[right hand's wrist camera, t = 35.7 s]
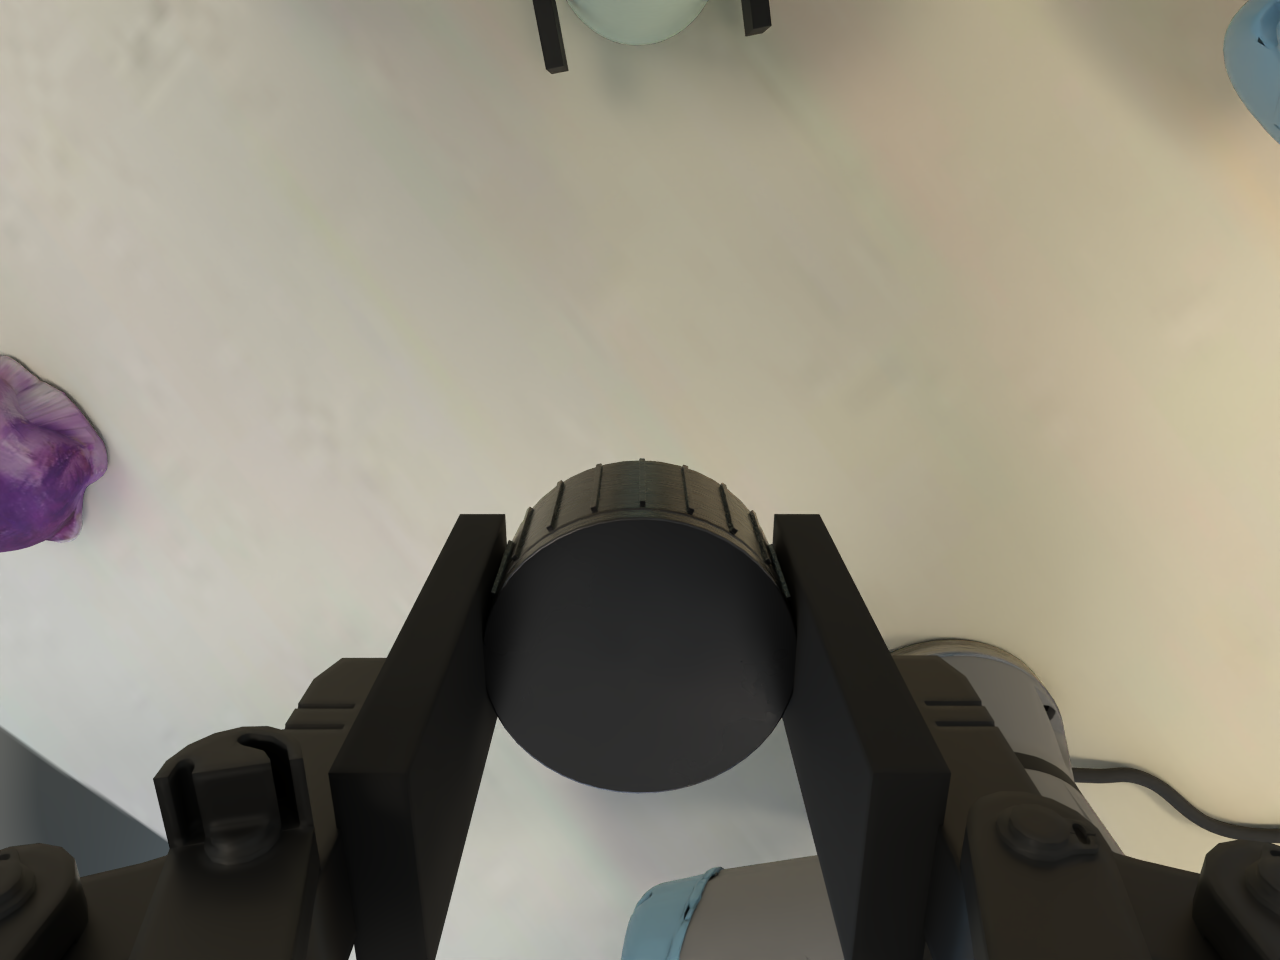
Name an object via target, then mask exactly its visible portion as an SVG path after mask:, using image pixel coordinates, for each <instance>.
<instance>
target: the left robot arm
mask: <svg viewBox="0 0 1280 960" xmlns="http://www.w3.org/2000/svg"><path fill="white" fill-rule="evenodd" d="M741 3H742V11H743V20H744V28H745V36H750V35H756V34H761V33H763V32H764V31H766V30H767V29H768V28H769V27H770V26H771V16H770V7H769V0H741ZM533 5H534V10H535V15H536V20H537V25H538V31H539V36H540V41H541V46H542V51H543V56H544V61H545V67H546V70H548V71H549V72H550V73H551V74H555V73H560V72H565V71H568V66H567V60H566V55H565V49H564V44H563V39H562V33H561V28H560V22H559V17H558V12H557V6H556V1H555V0H533ZM1223 52H1224V61H1225V67H1226V70H1227V73H1228V76H1229V78H1230V81H1231V83H1232V85H1233V87H1234V89H1235V91H1236V92H1237V94H1238V96H1239V97H1240V99H1241V100H1242V102H1243V103H1244V105H1245V106H1246V107H1247V109H1248V110H1249V111H1250V113H1251V114H1252V115H1253V116H1254V117H1255V118H1256V119H1257V121H1258V122H1259V123H1260V124H1261V125H1262V126H1263V128H1264V129H1265V130H1266V131H1267V132H1268V133H1269V134H1270V135H1271V136H1272V137H1273V138H1274V139H1275V140H1276V141H1277V142H1278V143H1279V144H1280V0H1249V1H1248V2H1247V3H1246V4H1245V5H1244V6H1243V7H1242V8H1241V9H1240V10H1239V11H1238V12H1237V13H1236V15H1235V16H1234V17H1233V19H1232V20H1231V22H1230V24H1229V26H1228V28H1227V31H1226V34H1225V38H1224V45H1223Z"/></svg>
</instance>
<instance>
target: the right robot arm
mask: <svg viewBox="0 0 1280 960" xmlns="http://www.w3.org/2000/svg"><path fill="white" fill-rule="evenodd" d="M506 546H507V539H506V522H505V514H460V516H459V517H458V519H457V521H456V523H455V525H454V527H453V529H452V531H451V533H450V535H449V537H448V539H447V541H446V543H445V545H444V547H443V549H442V551H441V553H440V555H439V557H438V559H437V561H436V563H435V564H434V566H433V568H432V570H431V572H430V574H429V576H428V578H427V580H426V582H425V584H424V586H423V588H422V590H421V592H420V594H419V596H418V598H417V600H416V602H415V604H414V606H413V608H412V610H411V611H410V613H409V615H408V617H407V619H406V621H405V623H404V625H403V627H402V629H401V631H400V633H399V635H398V637H397V639H396V641H395V643H394V645H393V647H392V649H391V651H390V653H389V655H388V657H387V658H342V659H340V660H339V661H338V662H336V663H335V664H333V665H332V666H331V667H329V668H328V669H327V670H325V671H324V672H323V673H321V674H320V675H319V676H317V677H316V678H315V679H314V680H313V681H312V683H311V684H310V686H309V688H308V689H307V691H306V692H305V694H304V695H303V697H302V699H301V700H300V702H299V703H298V709H295V710H294V711H293V713H292V714H291V716H290V718H289V719H288V721H287V722H286V724H285V729H282V730H280V729H277V728H273V727H269V726H255V727H239V728H235V729H231V730H227V731H222V732H218V733H214V734H212V735H210V736H207V737H205V738H203V739H201V740H198V741H196V742H194V743H192V744H189V745H188V746H186V747H185V748H183V749H182V750H181V751H179V752H178V753H177V754H175V755H174V756H173V757H171V758H170V759H168V760H167V761H166V762H165V764H164V765H163V766H162V768H161V769H160V770H159V772H158V773H157V774H156V776H155V777H154V778H153V781H154V785H155V789H156V793H157V797H158V801H159V806H160V810H161V814H162V818H163V822H164V827H165V831H166V835H167V839H168V843H169V847H170V850H169V852H168V855H166V856H163V857H160V858H157V859H154V860H150V861H147V862H144V863H140V864H136V865H132V866H127V867H123V868H119V869H114V870H110V871H105V872H101V873H97V874H93V875H88V876H84V877H80V876H79V872H78V869H77V866H76V862H75V859H74V858H73V857H72V856H71V855H70V854H69V853H68V852H67V851H66V850H65V849H63V848H62V847H59V846H53V845H48V844H42V843H36V844H28V845H20V846H12V847H8V848H5V849H2V850H0V960H348V959H349V956H350V953H351V951H352V948H353V945H354V946H355V953H356V959H357V960H435V958H436V954H437V950H438V946H439V942H440V938H441V934H442V931H443V927H444V923H445V919H446V915H447V911H448V907H449V903H450V899H451V895H452V892H453V888H454V884H455V880H456V876H457V872H458V868H459V864H460V860H461V856H462V853H463V849H464V845H465V841H466V837H467V833H468V829H469V825H470V821H471V817H472V814H473V810H474V806H475V802H476V798H477V794H478V790H479V786H480V782H481V778H482V775H483V771H484V767H485V763H486V759H487V755H488V751H489V747H490V743H491V739H492V736H493V732H494V728H495V724H496V720H497V715H496V713H495V711H494V709H493V706H492V704H491V702H490V700H489V698H488V695H487V691H486V681H485V668H484V654H483V629H484V624H485V621H486V618H487V615H488V612H489V609H490V606H491V603H492V600H493V597H490V596H489V595H490V592H491V590H492V587H493V584H494V581H495V578H496V575H497V572H498V569H499V567H500V564H501V561H502V558H503V555H504V552H505V549H506ZM773 547H774V550H775V553H776V556H777V559H778V561H779V564H780V567H781V570H782V573H783V576H784V579H785V581H786V584H787V587H788V590H789V593H790V596H791V599H792V601H789V602H788V603H789V606H790V609H791V612H792V615H793V618H794V622H795V625H796V629H797V646H796V660H795V674H794V687H793V694H792V697H791V700H790V702H789V704H788V706H787V708H786V710H785V712H784V714H783V716H782V718H783V722H784V726H785V730H786V734H787V738H788V742H789V745H790V749H791V753H792V757H793V761H794V765H795V769H796V773H797V777H798V781H799V784H800V788H801V792H802V796H803V800H804V804H805V808H806V812H807V816H808V820H809V823H810V827H811V831H812V835H813V839H814V843H815V847H816V851H817V855H815V856H809V857H802V858H796V859H789V860H783V861H776V862H769V863H763V864H756V865H750V866H743V867H737V868H730V869H724V868H722V867H715V868H712V869H710V870H708V871H706V873H705V874H702V875H698V876H693V877H688V878H684V879H679V880H674V881H670V882H665V883H661V884H659V885H656V886H654V887H653V888H651V889H650V890H648V891H647V892H646V893H645V894H644V895H643V896H642V898H641V899H640V901H639V902H638V903H637V905H636V907H635V910H634V912H633V914H632V915H631V918H630V921H629V924H628V927H627V931H626V935H625V940H624V945H623V951H622V958H621V960H1280V846H1278V845H1275V844H1272V843H1280V829H1261V828H1249V827H1242V826H1236V825H1232V824H1228V823H1224V822H1221V821H1218V820H1215V819H1212V818H1210V817H1208V816H1206V815H1205V814H1203V813H1201V812H1200V811H1199V810H1197V809H1196V808H1195V807H1194V806H1192V805H1191V804H1190V803H1189V802H1188V801H1187V800H1185V799H1184V798H1183V797H1182V796H1181V795H1180V794H1179V793H1178V792H1176V791H1175V790H1174V789H1173V788H1171V787H1170V786H1169V785H1168V784H1166V783H1165V782H1163V781H1161V780H1160V779H1158V778H1156V777H1154V776H1152V775H1150V774H1148V773H1146V772H1143V771H1140V770H1137V769H1132V768H1107V769H1090V768H1072V767H1071V762H1070V757H1069V752H1068V747H1067V742H1066V738H1065V732H1064V727H1063V722H1062V718H1061V715H1060V712H1059V709H1058V707H1057V705H1056V703H1055V701H1054V699H1053V698H1052V697H1051V695H1050V694H1049V692H1048V691H1047V690H1046V688H1045V687H1044V686H1043V684H1042V683H1041V682H1040V680H1039V679H1038V678H1037V676H1036V675H1035V674H1034V673H1033V672H1032V671H1031V669H1030V668H1029V667H1027V666H1026V665H1025V664H1024V663H1023V662H1022V661H1020V660H1019V659H1017V658H1016V657H1014V656H1013V655H1011V654H1009V653H1007V652H1005V651H1003V650H1001V649H999V648H996V647H994V646H990V645H987V644H984V643H979V642H974V641H967V640H935V641H928V642H923V643H918V644H914V645H911V646H908V647H904V648H901V649H899V650H896V651H894V652H892V653H890V652H889V650H888V648H887V646H886V644H885V642H884V640H883V638H882V636H881V634H880V632H879V630H878V628H877V626H876V624H875V622H874V620H873V618H872V617H871V615H870V613H869V611H868V609H867V607H866V605H865V603H864V601H863V599H862V597H861V595H860V593H859V591H858V589H857V587H856V585H855V583H854V581H853V579H852V577H851V575H850V573H849V571H848V569H847V568H846V566H845V564H844V562H843V560H842V558H841V556H840V554H839V552H838V550H837V548H836V546H835V544H834V542H833V540H832V538H831V536H830V534H829V532H828V530H827V528H826V526H825V524H824V522H823V521H822V519H821V517H820V515H819V514H774V530H773ZM1075 782H1080V783H1114V782H1130V783H1136V784H1139V785H1142V786H1145V787H1147V788H1149V789H1151V790H1153V791H1155V792H1156V793H1158V794H1159V795H1160V796H1161V797H1163V798H1164V799H1165V800H1166V801H1168V802H1169V803H1170V804H1171V805H1172V806H1173V807H1174V808H1175V809H1177V810H1178V811H1179V812H1180V813H1181V814H1182V815H1184V816H1185V817H1186V818H1188V819H1189V820H1190V821H1192V822H1193V823H1195V824H1197V825H1198V826H1200V827H1202V828H1204V829H1206V830H1208V831H1210V832H1212V833H1215V834H1218V835H1221V836H1224V837H1228V838H1232V839H1237V840H1235V841H1229V842H1223V843H1218V844H1217V845H1216V846H1215V847H1214V848H1213V849H1212V850H1211V851H1209V852H1208V853H1207V854H1206V856H1205V860H1204V863H1203V867H1202V870H1201V874H1198V873H1194V872H1190V871H1185V870H1181V869H1177V868H1172V867H1168V866H1164V865H1159V864H1155V863H1151V862H1146V861H1142V860H1138V859H1135V858H1131V857H1128V856H1125V855H1124V853H1123V852H1122V850H1121V849H1120V848H1119V846H1118V845H1117V843H1116V842H1115V840H1114V839H1113V838H1112V836H1111V835H1110V833H1109V832H1108V830H1107V829H1106V828H1105V826H1104V825H1103V823H1102V822H1101V820H1100V819H1099V818H1098V816H1097V815H1096V813H1095V812H1094V810H1093V809H1092V808H1091V806H1090V805H1089V803H1088V802H1087V800H1086V799H1085V798H1084V796H1083V795H1082V793H1081V792H1080V790H1079V789H1078V787H1077V786H1076V784H1075Z"/></svg>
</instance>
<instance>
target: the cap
mask: <svg viewBox="0 0 1280 960" xmlns="http://www.w3.org/2000/svg"><path fill="white" fill-rule="evenodd" d="M489 596H490V597H493V600H492V603H491V606H490V609H489V612H488V615H487V618H486V621H485V624H484V629H483V654H484V668H485V681H486V691H487V695H488V698H489V700H490V702H491V704H492V706H493V709H494V711H495V713H496V715H497V716H498V718H499V720H500V721H501V723H502V724H503V726H504V728H505V729H506V730H507V732H508V733H509V734H510V735H511V736H512V738H513V739H514V740H515V741H516V742H517V743H518V744H519V745H520V746H521V747H522V748H523V749H524V750H525V751H526V752H527V753H528V754H529V755H531V756H532V757H533V758H535V759H536V760H537V761H539V762H540V763H542V764H543V765H544V766H546V767H547V768H549V769H551V770H553V771H555V772H556V773H558V774H560V775H562V776H564V777H566V778H569V779H571V780H574V781H576V782H578V783H581V784H585V785H588V786H592V787H595V788H598V789H604V790H610V791H615V792H626V793H657V792H664V791H670V790H677V789H681V788H684V787H688V786H692V785H696V784H698V783H701V782H703V781H706V780H709V779H711V778H714V777H716V776H718V775H719V774H721V773H723V772H725V771H727V770H729V769H731V768H732V767H734V766H735V765H737V764H738V763H740V762H741V761H743V760H744V759H746V758H747V757H748V756H749V755H750V754H751V753H752V752H754V751H755V750H756V749H757V748H758V747H759V746H760V745H761V744H762V743H763V742H764V741H765V740H766V738H767V737H768V736H769V735H770V734H771V733H772V731H773V730H774V728H775V727H776V725H777V724H778V723H779V721H780V720H781V718H782V716H783V714H784V712H785V710H786V708H787V706H788V704H789V702H790V700H791V697H792V694H793V687H794V674H795V660H796V646H797V629H796V625H795V622H794V618H793V615H792V612H791V609H790V606H789V603H788V602H789V601H792V599H791V596H790V593H789V590H788V587H787V584H786V581H785V579H784V576H783V573H782V570H781V567H780V564H779V561H778V559H777V556H776V553H775V550H774V547H773V544H771V545H769V544H768V541H767V539H766V537H765V535H764V533H763V531H762V528H761V527H760V525H759V523H758V520H757V517H756V514H755V512H754V511H753V510H752V511H751V512H750V511H749V510H748V509H747V507H746V506H745V505H744V504H743V503H742V502H741V501H740V500H739V499H738V498H737V497H736V496H735V495H733V494H732V493H731V492H730V491H729V490H728V489H727V487H726V485H725V484H724V483H721V485H720V484H719V483H717V482H716V481H714V480H713V479H711V478H708V477H706V476H704V475H702V474H700V473H698V472H696V471H693V470H690V469H688V466H686V465H683V466H682V467H681V466H678V465H673V464H668V463H663V462H656V461H645V459H640V461H623V462H617V463H611V464H606V465H602V464H597V465H596V468H592V469H589V470H586V471H584V472H582V473H580V474H577V475H575V476H573V477H571V478H569V479H568V480H566V481H564V482H563V481H562V480H561V481H559V482H558V483H557V486H556V487H555V488H554V489H552V490H551V491H550V492H549V493H548V494H546V495H545V496H544V497H543V498H542V499H541V500H540V501H539V502H538V503H537V504H536V505H535V506H534V507H533V508H531V507H529V508H528V509H527V512H526V515H525V518H524V520H523V522H522V523H521V525H520V526H519V528H518V530H517V532H516V534H515V536H514V538H513V541H510V540H509V541H508V544H507V546H506V549H505V552H504V555H503V558H502V561H501V564H500V567H499V569H498V572H497V575H496V578H495V581H494V584H493V587H492V590H491V592H490V595H489Z"/></svg>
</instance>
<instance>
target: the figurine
mask: <svg viewBox="0 0 1280 960" xmlns="http://www.w3.org/2000/svg"><path fill="white" fill-rule="evenodd" d="M107 463H108V460H107V453H106V447H105V445H104V442H103V441H102V439H101V438H100V437H99V436H98V434H97V433H96V432H95V430H94V429H93V427H92V426H91V425H90V423H89V422H88V420H87V419H86V418H85V416H84V415H83V414H82V412H81V411H80V410H79V409H78V407H77V406H76V405H75V404H74V403H73V402H72V401H71V400H70V399H69V398H68V397H67V396H66V394H65V393H64V392H62V391H60V390H58V389H56V388H54V387H53V386H51V385H49V384H47V383H45V382H43V381H40V380H38V378H37V377H35V376H34V375H32V374H31V373H30V372H29V371H28V370H27V369H25V368H24V367H23V366H22V365H21V364H20V363H18V362H17V361H15V360H14V359H12V358H10V357H8V356H0V552H7V551H14V550H19V549H23V548H27V547H30V546H33V545H35V544H38V543H40V542H42V541H45V540H49V541H55V542H59V543H63V542H69V541H72V540H74V539H75V538H76V537H77V536H78V535H79V533H80V531H81V529H82V506H83V495H84V492H85V489H86V487H87V486H88V485H90V484H92V483H93V482H95V481H96V480H98V479H99V478H100V477H101V476H103V475H104V473H105V471H106V469H107Z"/></svg>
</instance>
